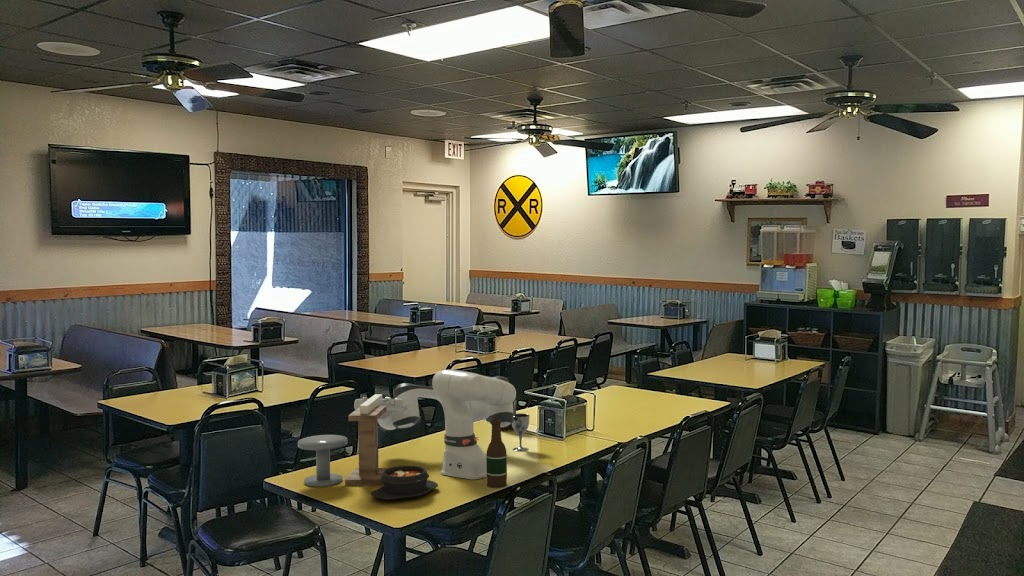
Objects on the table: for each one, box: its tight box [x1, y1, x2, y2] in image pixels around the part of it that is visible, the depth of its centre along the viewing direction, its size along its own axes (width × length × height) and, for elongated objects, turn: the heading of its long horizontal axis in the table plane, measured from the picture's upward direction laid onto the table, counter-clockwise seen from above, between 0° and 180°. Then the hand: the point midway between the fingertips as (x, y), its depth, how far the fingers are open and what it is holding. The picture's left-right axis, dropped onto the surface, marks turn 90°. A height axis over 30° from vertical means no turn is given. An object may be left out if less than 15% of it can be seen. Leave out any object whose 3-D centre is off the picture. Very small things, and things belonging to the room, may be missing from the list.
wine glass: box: [512, 412, 530, 453], centre depth 321 cm, size 8×8×15 cm
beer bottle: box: [486, 419, 508, 489], centre depth 270 cm, size 8×8×24 cm
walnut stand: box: [344, 406, 390, 486], centre depth 279 cm, size 18×14×26 cm
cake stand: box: [297, 434, 348, 488], centre depth 277 cm, size 18×18×16 cm
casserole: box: [370, 465, 439, 501], centre depth 260 cm, size 25×19×8 cm
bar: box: [360, 393, 383, 414], centre depth 285 cm, size 24×3×3 cm, turn 177°
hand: (376, 398), depth 293 cm, fingers open, 8 cm apart
